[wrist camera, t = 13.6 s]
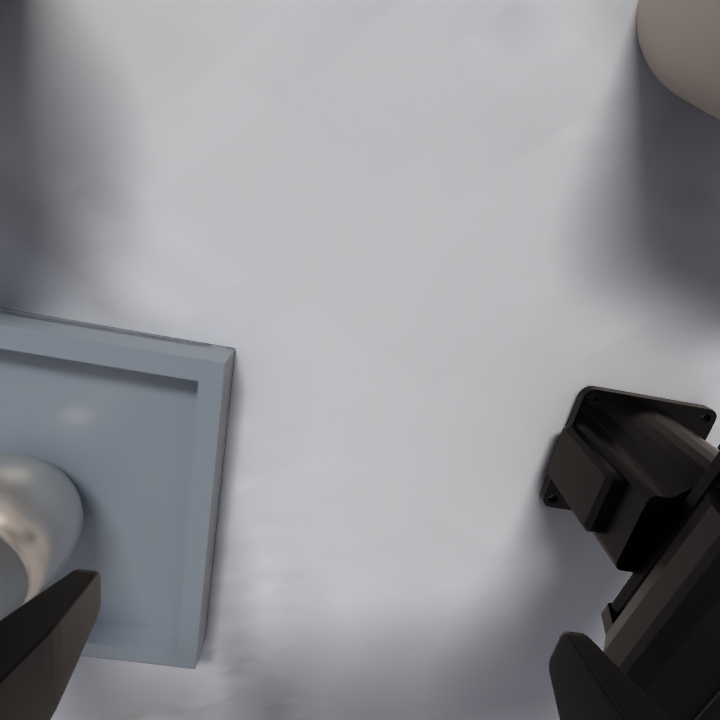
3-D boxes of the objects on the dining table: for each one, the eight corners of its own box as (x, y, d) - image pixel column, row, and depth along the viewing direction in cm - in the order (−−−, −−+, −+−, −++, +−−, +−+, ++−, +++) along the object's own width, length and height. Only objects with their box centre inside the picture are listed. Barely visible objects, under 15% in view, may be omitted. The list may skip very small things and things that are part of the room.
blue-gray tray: (235, 348, 21) (224, 363, 19) (204, 638, 27) (195, 669, 25) (-204, 272, 19) (-258, 281, 18) (-129, 598, 26) (-163, 627, 24)
